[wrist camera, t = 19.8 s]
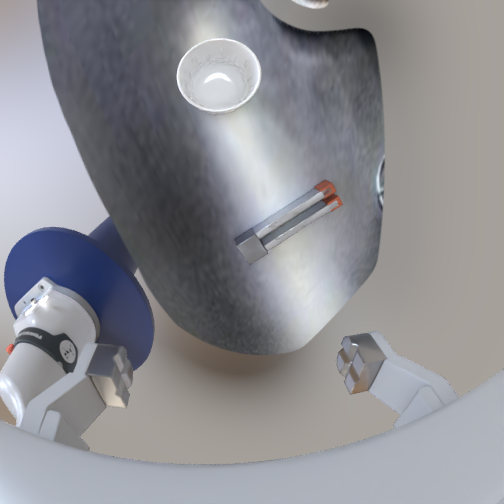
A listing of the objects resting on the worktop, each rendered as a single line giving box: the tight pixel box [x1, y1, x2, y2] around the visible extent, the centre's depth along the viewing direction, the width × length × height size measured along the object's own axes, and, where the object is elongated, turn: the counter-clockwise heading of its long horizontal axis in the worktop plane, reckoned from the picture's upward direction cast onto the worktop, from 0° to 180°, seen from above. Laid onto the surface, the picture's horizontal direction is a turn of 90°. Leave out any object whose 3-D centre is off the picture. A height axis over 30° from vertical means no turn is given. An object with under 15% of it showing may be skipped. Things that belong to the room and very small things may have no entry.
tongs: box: [235, 180, 343, 265], centre depth 37 cm, size 16×4×3 cm, turn 123°
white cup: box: [177, 38, 261, 114], centre depth 25 cm, size 8×8×10 cm
